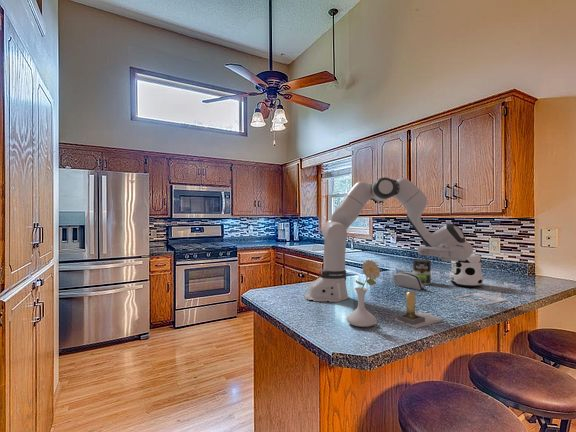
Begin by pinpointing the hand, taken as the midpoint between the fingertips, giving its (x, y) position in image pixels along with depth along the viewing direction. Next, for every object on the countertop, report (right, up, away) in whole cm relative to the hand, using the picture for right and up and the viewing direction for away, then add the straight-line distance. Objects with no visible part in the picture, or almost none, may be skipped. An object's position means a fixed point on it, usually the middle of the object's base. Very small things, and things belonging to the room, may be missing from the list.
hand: (429, 253), depth 138 cm
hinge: (+7, -25, +43) cm, 50 cm away
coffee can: (+20, -25, +53) cm, 62 cm away
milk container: (+43, -25, +46) cm, 68 cm away
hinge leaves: (-11, -25, -15) cm, 31 cm away
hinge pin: (-15, -24, -17) cm, 33 cm away
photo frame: (+33, -25, +16) cm, 44 cm away
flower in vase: (-34, -26, -18) cm, 46 cm away
